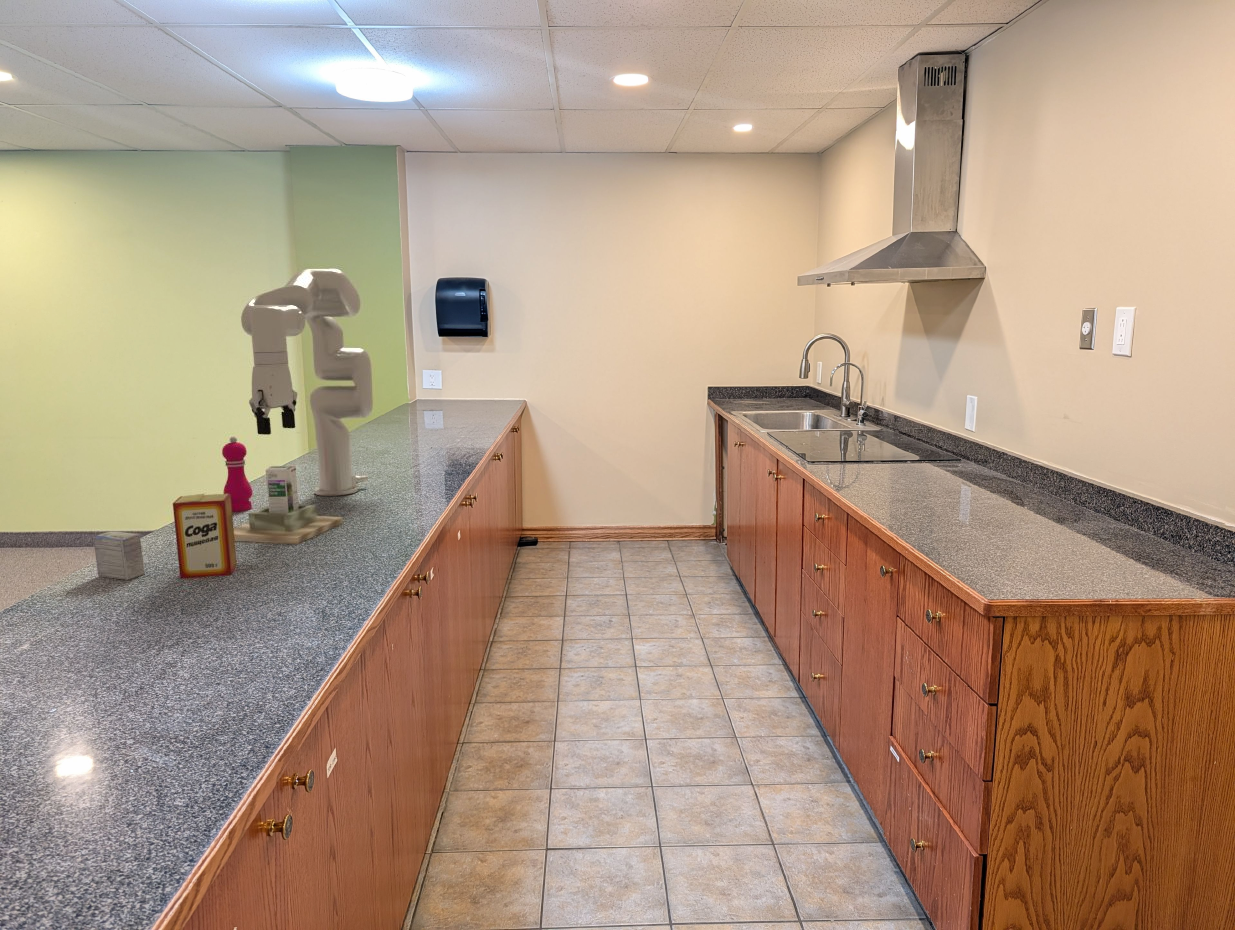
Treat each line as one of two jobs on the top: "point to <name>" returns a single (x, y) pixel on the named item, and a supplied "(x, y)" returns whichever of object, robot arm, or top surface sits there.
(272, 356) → the robot arm
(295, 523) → the socket board
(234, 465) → the pepper mill
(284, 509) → the syrup box
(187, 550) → the baking soda box
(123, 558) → the medicine box
